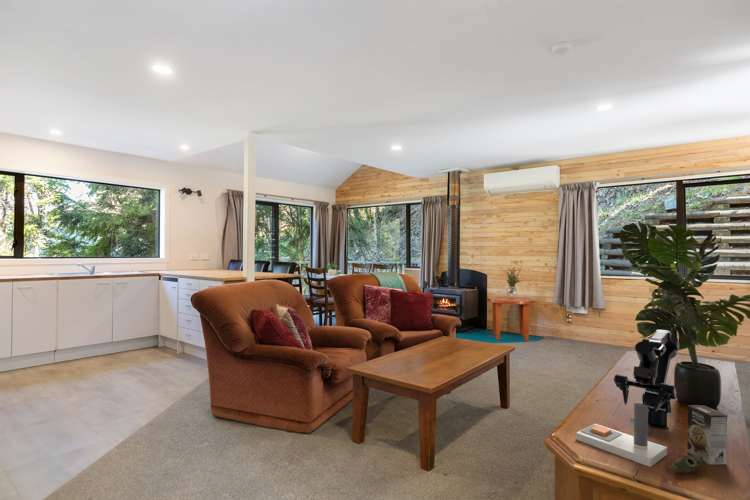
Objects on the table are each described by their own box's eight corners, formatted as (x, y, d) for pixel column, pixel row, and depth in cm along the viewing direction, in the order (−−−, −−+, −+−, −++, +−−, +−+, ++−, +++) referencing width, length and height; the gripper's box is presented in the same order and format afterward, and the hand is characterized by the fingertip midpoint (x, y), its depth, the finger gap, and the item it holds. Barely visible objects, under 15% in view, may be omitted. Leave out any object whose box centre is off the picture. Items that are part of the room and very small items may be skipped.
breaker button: (591, 433, 154) (591, 428, 154) (597, 430, 157) (597, 425, 157) (604, 438, 150) (604, 433, 150) (610, 435, 153) (611, 429, 153)
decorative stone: (702, 483, 126) (703, 466, 126) (671, 474, 130) (671, 458, 130) (702, 468, 134) (703, 452, 134) (673, 460, 139) (673, 445, 139)
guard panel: (576, 439, 154) (576, 431, 154) (594, 430, 162) (594, 422, 162) (650, 467, 135) (650, 458, 135) (667, 454, 143) (667, 446, 143)
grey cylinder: (645, 444, 145) (645, 403, 145) (649, 450, 141) (649, 408, 141) (632, 443, 146) (632, 402, 146) (635, 448, 142) (636, 406, 142)
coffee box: (686, 451, 145) (686, 404, 145) (703, 451, 146) (704, 404, 146) (709, 465, 136) (709, 415, 136) (727, 464, 137) (728, 414, 137)
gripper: (615, 352, 160) (605, 389, 152) (674, 362, 147) (667, 403, 139) (621, 368, 166) (612, 404, 158) (679, 379, 152) (672, 419, 145)
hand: (639, 407), depth 150 cm, fingers open, 9 cm apart
